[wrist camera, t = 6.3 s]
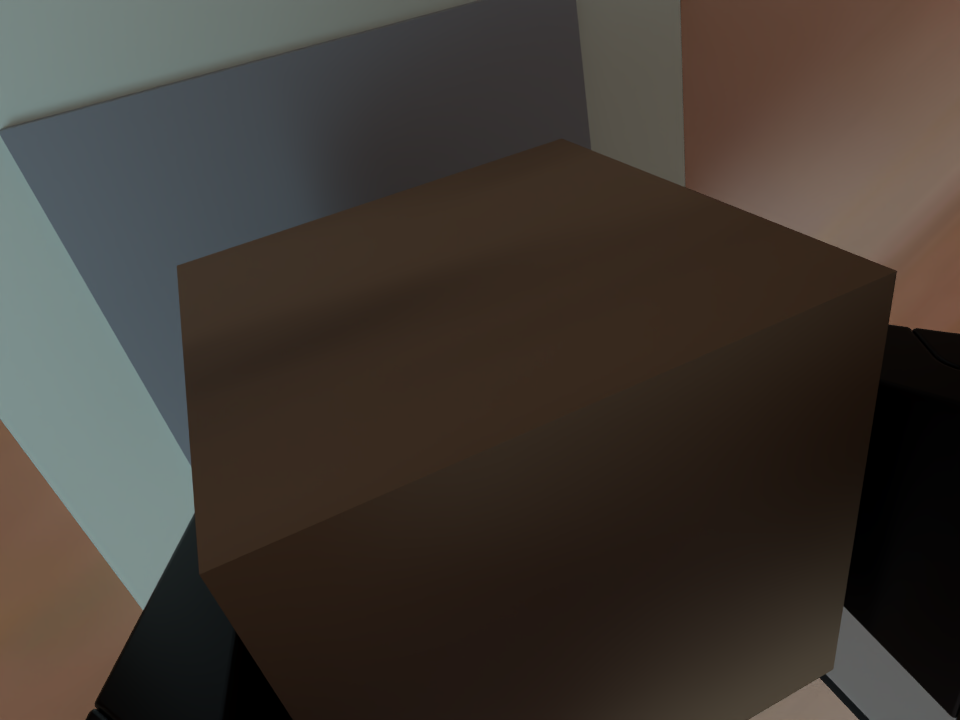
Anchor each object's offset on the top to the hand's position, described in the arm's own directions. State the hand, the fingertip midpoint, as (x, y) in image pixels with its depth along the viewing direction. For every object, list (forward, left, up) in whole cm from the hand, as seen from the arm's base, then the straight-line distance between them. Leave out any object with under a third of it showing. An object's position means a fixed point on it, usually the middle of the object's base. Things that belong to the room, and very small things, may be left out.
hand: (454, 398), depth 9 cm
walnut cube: (0, 0, -1) cm, 1 cm away
